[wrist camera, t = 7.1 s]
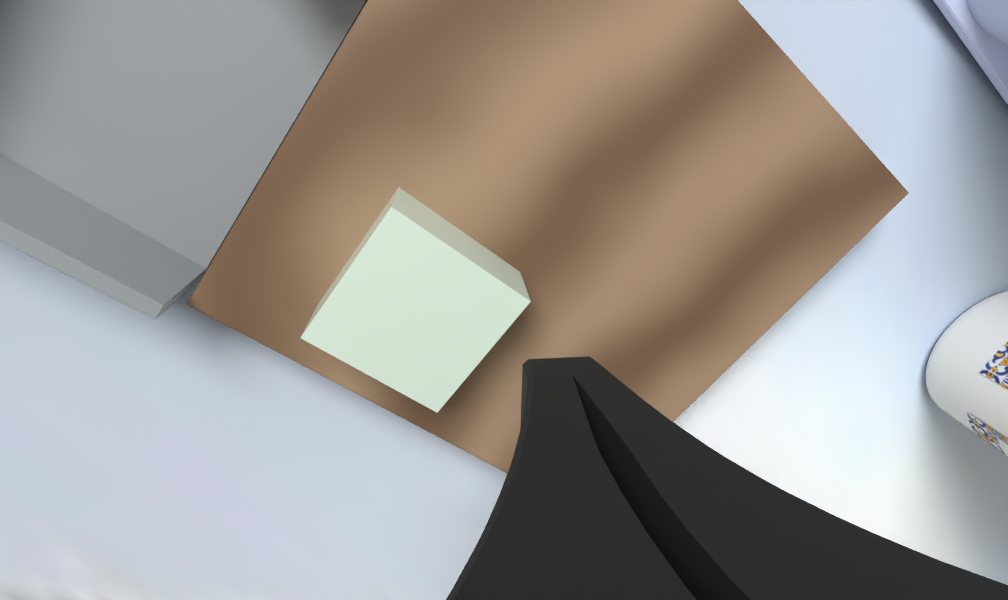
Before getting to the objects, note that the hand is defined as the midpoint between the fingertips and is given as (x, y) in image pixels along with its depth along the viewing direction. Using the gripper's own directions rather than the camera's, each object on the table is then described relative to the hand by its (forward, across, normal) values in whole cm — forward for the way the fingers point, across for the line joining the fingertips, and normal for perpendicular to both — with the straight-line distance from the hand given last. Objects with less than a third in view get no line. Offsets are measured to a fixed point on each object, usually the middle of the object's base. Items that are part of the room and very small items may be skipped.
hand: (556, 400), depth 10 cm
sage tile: (+8, +3, +1) cm, 9 cm away
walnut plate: (+10, -2, 0) cm, 11 cm away
